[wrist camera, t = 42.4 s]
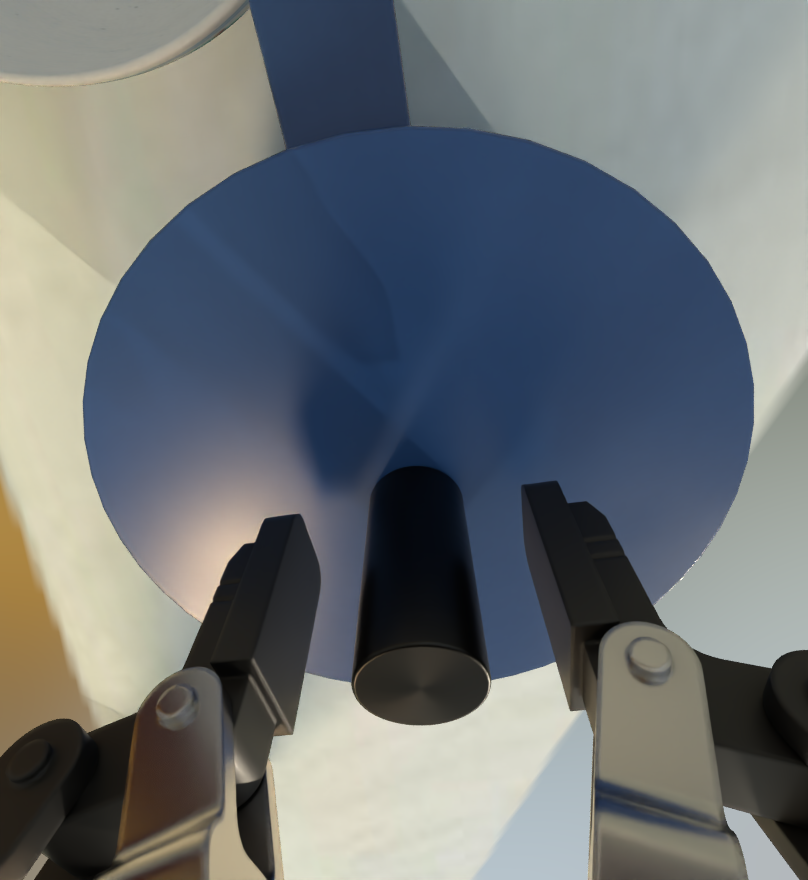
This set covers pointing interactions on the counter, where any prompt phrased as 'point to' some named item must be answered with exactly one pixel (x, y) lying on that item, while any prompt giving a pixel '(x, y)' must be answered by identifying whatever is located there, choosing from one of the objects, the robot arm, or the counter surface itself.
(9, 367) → the counter surface
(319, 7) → the pot
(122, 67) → the chinaware
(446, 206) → the lid
